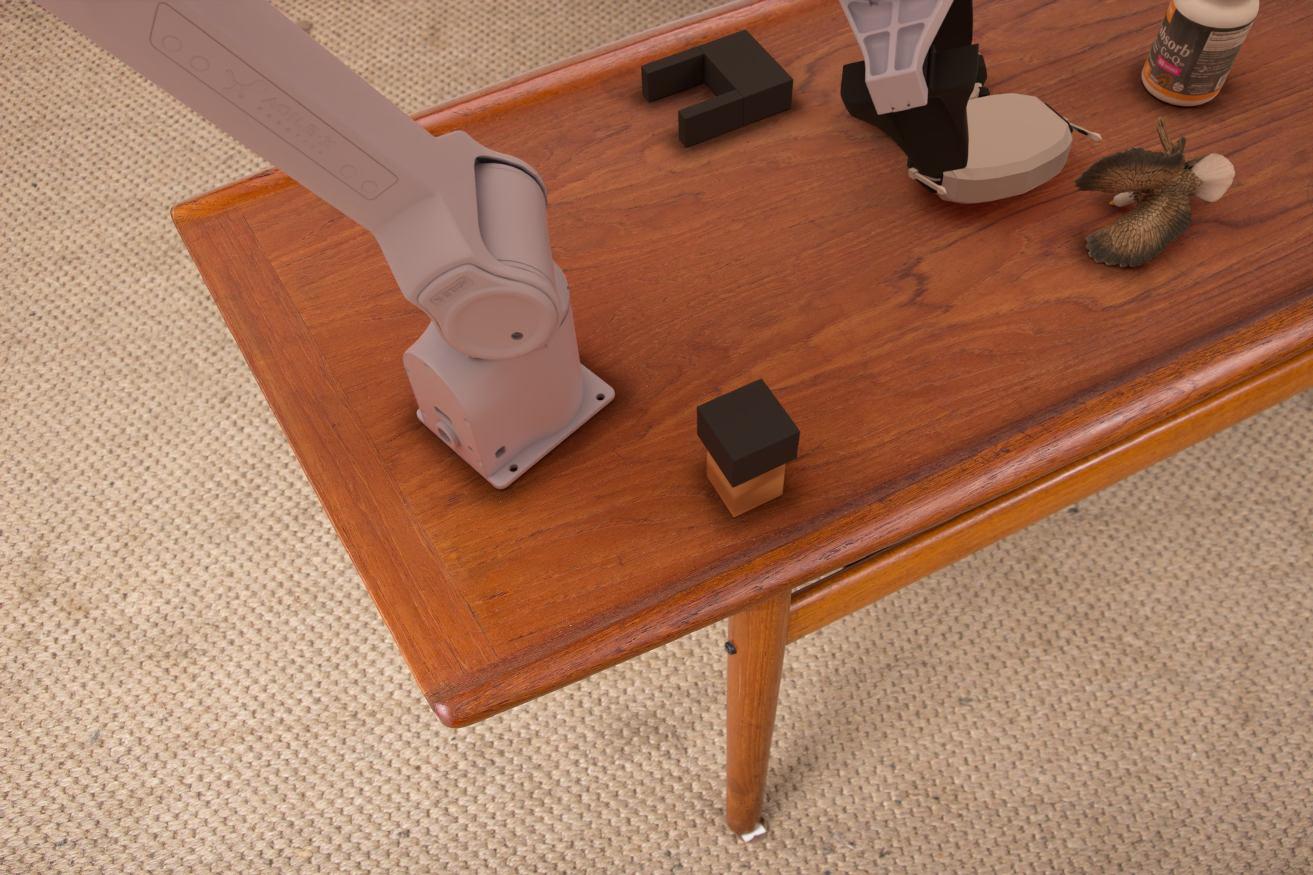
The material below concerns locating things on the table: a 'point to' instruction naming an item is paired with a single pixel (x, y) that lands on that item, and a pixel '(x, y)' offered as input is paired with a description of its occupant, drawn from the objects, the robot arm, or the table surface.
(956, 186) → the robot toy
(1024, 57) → the table surface
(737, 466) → the small pad
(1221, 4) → the pill bottle
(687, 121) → the base pad
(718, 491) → the cube
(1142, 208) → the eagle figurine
